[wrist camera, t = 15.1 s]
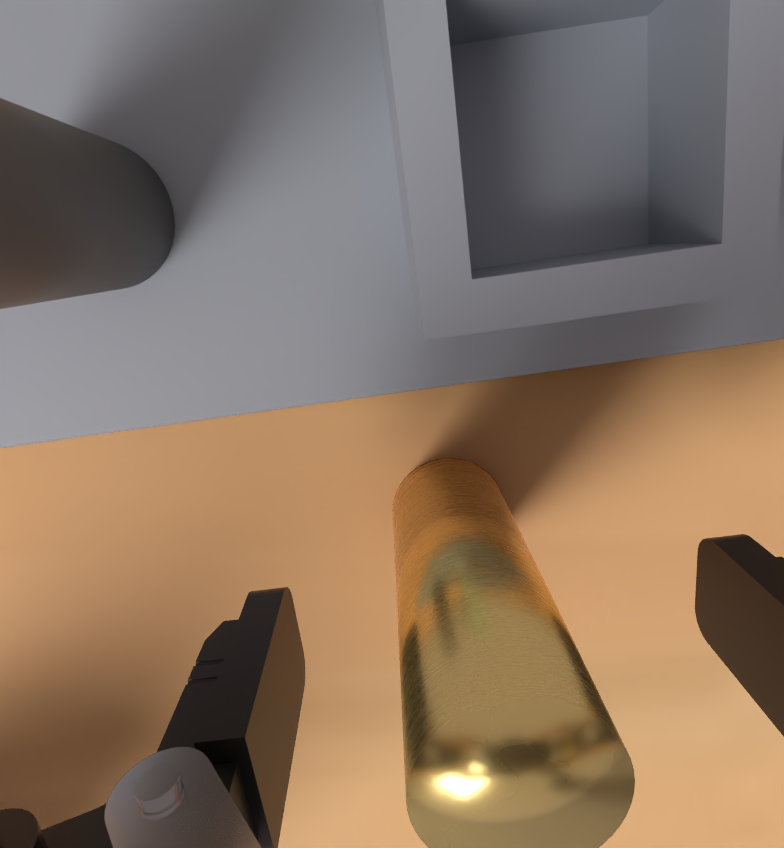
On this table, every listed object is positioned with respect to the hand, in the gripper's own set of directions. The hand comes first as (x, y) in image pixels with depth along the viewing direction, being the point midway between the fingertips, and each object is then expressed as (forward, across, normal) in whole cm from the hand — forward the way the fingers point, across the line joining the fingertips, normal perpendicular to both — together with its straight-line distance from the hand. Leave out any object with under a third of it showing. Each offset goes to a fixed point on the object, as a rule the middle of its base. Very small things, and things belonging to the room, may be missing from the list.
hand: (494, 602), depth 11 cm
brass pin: (+5, 0, +1) cm, 5 cm away
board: (+6, +2, -8) cm, 10 cm away
